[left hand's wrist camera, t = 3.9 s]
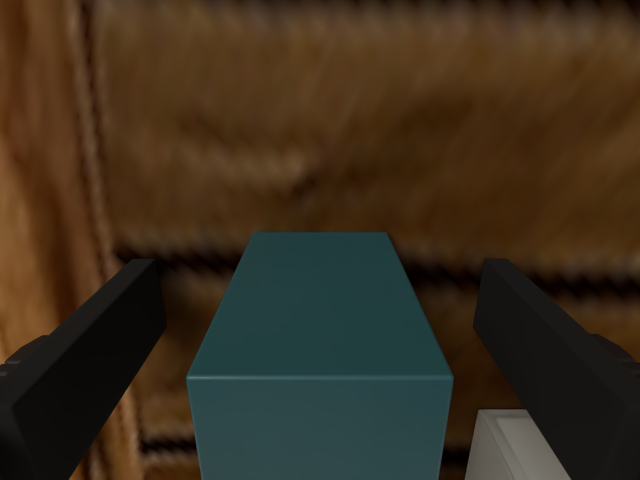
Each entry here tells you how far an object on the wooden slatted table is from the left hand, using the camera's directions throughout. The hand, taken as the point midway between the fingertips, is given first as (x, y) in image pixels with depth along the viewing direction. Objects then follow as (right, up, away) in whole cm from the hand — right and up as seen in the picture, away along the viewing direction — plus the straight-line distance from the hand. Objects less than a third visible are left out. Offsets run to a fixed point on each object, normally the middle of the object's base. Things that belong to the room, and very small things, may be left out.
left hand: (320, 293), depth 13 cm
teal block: (0, 0, 0) cm, 0 cm away
